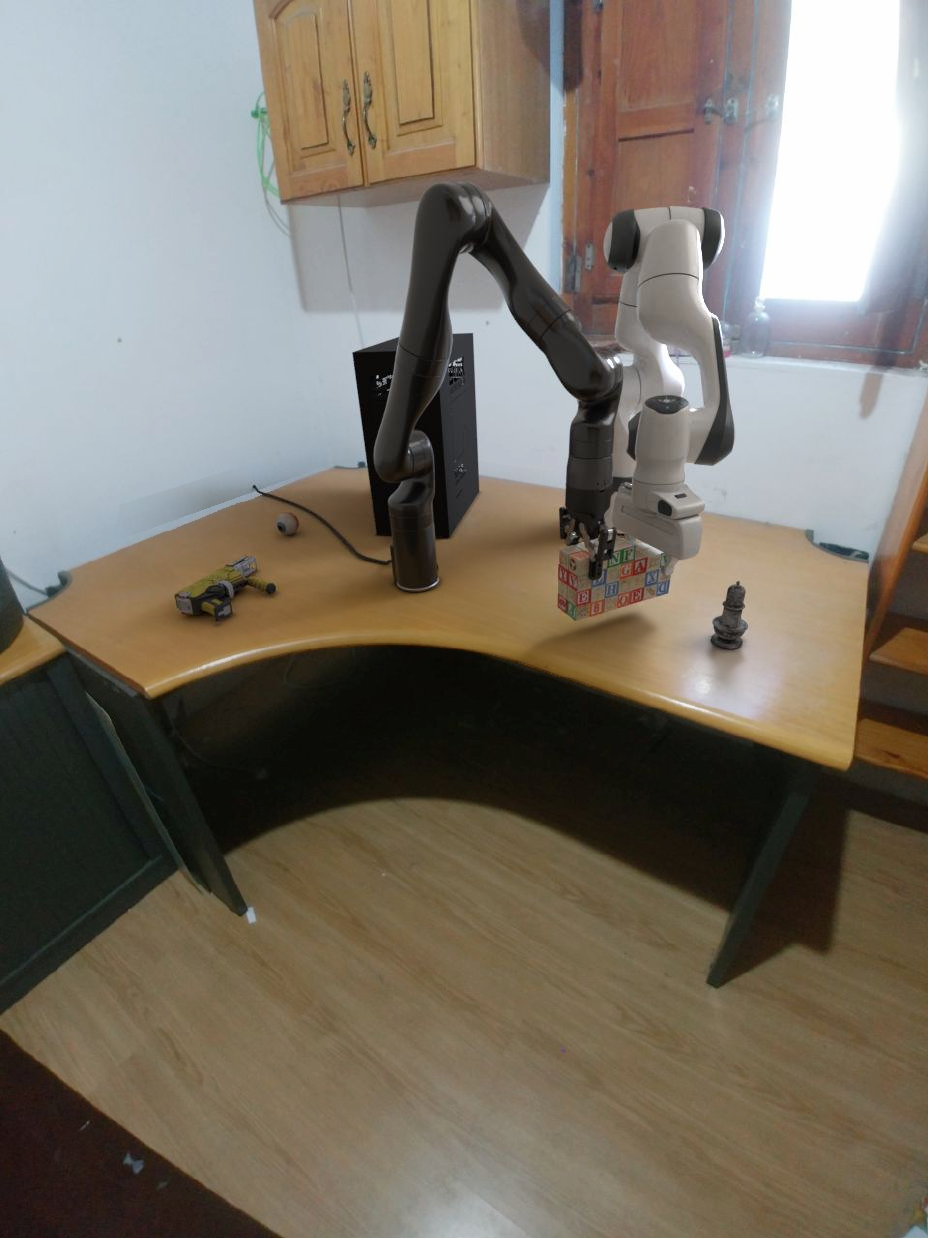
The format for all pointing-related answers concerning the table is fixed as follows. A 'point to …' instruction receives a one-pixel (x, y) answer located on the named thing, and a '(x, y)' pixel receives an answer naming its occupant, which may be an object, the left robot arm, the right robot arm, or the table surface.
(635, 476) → the right robot arm
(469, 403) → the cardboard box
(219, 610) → the toy gun
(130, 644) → the table surface
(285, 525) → the eyeball
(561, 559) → the stack of blocks
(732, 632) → the grey chess piece
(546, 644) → the table surface
